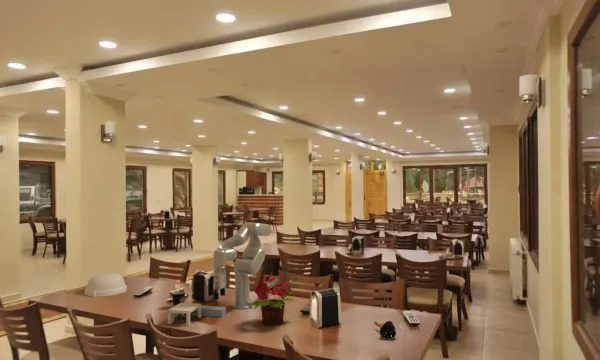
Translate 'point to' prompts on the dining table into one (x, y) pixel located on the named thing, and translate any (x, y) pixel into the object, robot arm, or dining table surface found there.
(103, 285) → the dome cover
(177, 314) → the low shelf
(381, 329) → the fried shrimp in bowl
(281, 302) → the potted plant
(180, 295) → the coffee mug
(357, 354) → the dining table surface
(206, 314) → the grey rectangular block
